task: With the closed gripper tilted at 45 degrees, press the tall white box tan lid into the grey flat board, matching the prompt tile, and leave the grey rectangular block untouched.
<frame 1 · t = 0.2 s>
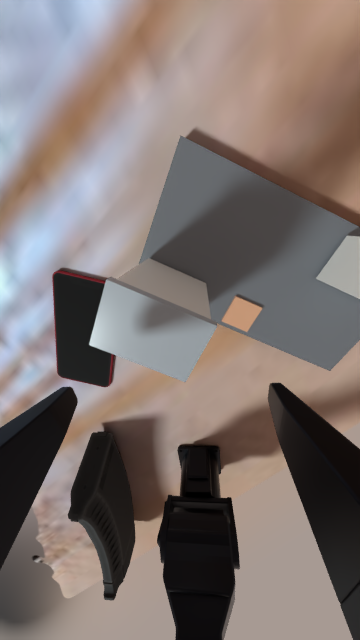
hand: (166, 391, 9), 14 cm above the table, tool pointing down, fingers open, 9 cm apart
smartphone: (88, 332, 26), on the table
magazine: (121, 480, 39), on the table
grey flat board: (266, 273, 21), on the table
grey rectangular block: (162, 306, 16), point 6 cm above the table, slide at 0.0 cm
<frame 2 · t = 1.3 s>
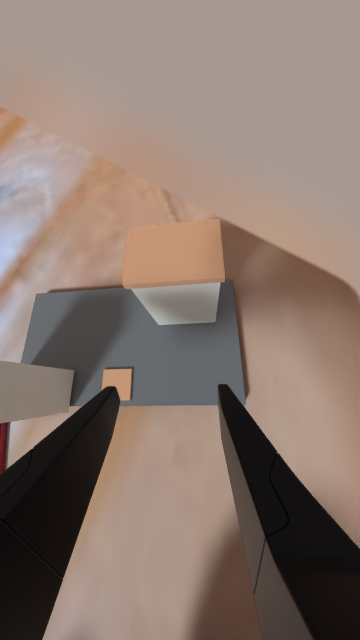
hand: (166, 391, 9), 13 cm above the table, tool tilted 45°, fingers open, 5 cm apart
grey flat board: (129, 343, 23), on the table
white box tan lid: (180, 285, 18), point 6 cm above the table, slide at 0.0 cm
grey rectangular block: (1, 391, 17), point 6 cm above the table, slide at 0.0 cm
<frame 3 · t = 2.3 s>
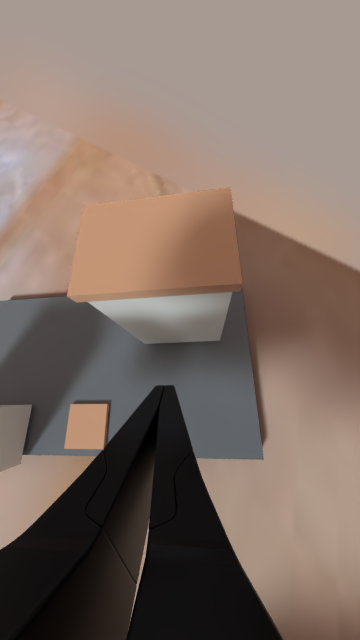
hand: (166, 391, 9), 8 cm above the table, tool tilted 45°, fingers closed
grey flat board: (107, 366, 18), on the table
white box tan lid: (171, 293, 13), point 6 cm above the table, slide at 0.0 cm
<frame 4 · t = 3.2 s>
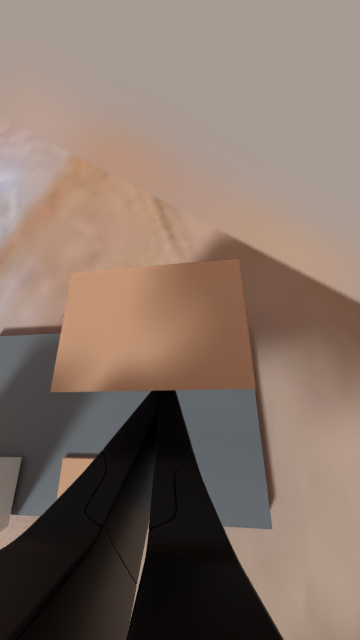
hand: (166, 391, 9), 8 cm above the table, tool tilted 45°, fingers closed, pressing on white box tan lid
grey flat board: (103, 410, 17), on the table
white box tan lid: (172, 348, 11), point 6 cm above the table, slide at 0.2 cm, touching gripper
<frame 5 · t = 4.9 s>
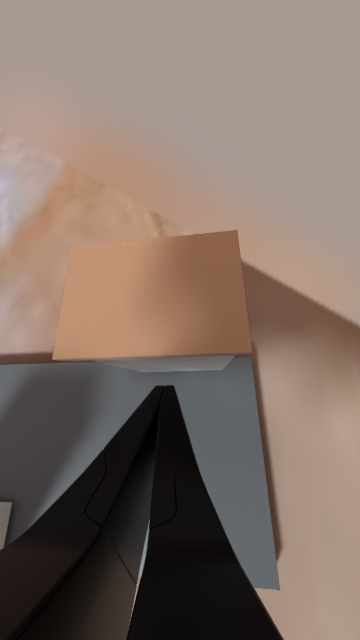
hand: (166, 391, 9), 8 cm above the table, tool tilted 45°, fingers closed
grey flat board: (99, 447, 16), on the table
white box tan lid: (171, 328, 12), point 6 cm above the table, slide at 4.0 cm
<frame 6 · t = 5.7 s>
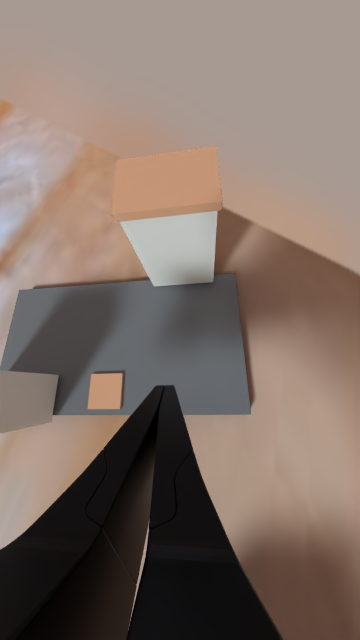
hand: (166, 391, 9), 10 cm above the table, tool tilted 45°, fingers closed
grey flat board: (120, 344, 21), on the table
white box tan lid: (176, 234, 17), point 6 cm above the table, slide at 4.0 cm
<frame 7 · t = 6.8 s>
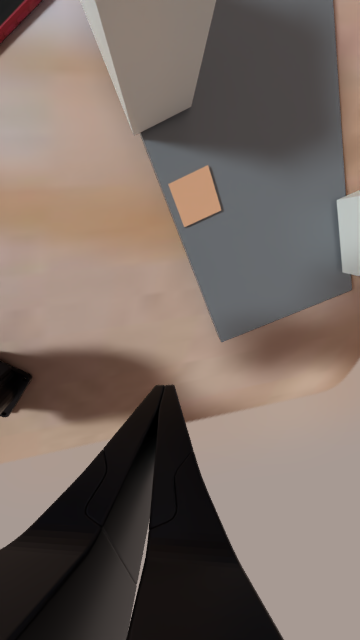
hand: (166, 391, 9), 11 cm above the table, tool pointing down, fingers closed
grey flat board: (248, 182, 16), on the table
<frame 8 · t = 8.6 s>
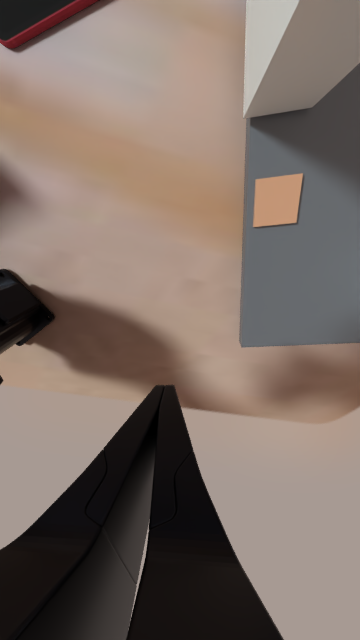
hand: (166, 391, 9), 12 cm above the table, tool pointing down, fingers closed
grey flat board: (331, 203, 16), on the table
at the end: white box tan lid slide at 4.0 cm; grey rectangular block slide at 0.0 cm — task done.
